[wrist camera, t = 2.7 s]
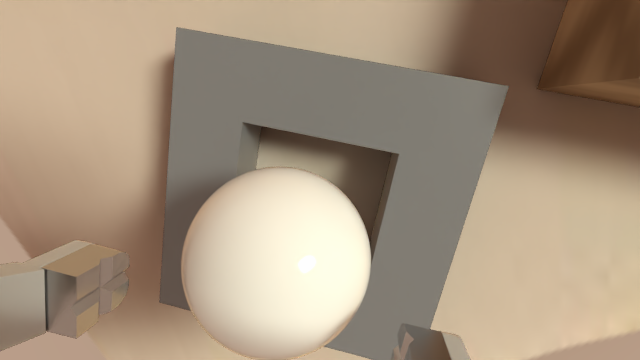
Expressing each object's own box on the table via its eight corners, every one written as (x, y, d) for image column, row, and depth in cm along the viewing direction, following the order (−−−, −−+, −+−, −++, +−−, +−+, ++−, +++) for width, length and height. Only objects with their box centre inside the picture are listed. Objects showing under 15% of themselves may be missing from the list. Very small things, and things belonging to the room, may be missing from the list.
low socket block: (207, 40, 17) (176, 27, 14) (482, 90, 16) (508, 86, 13) (187, 275, 21) (159, 302, 18) (408, 332, 20) (416, 371, 17)
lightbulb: (247, 214, 19) (104, 343, 9) (290, 122, 18) (178, 145, 7) (336, 262, 19) (301, 453, 9) (389, 175, 18) (425, 279, 7)
